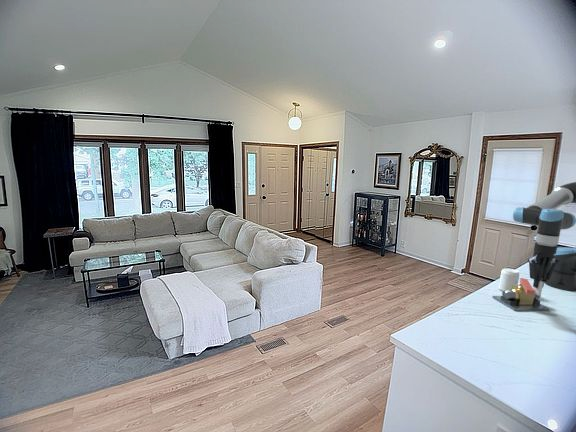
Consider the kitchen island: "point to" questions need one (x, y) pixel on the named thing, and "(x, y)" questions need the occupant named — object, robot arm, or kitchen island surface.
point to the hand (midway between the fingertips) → (536, 294)
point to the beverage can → (508, 278)
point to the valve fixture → (520, 300)
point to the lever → (526, 286)
